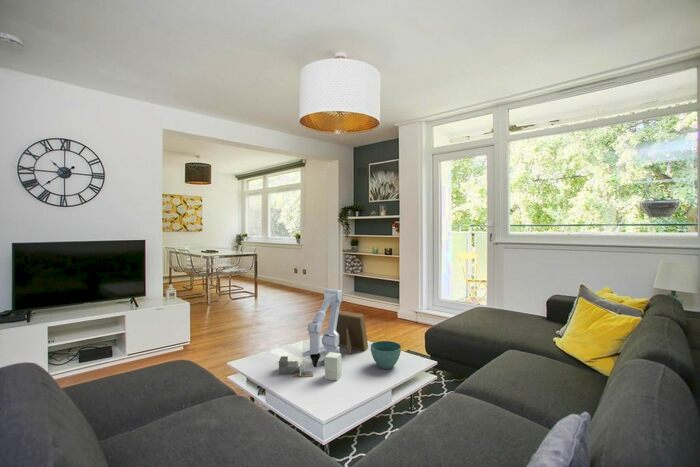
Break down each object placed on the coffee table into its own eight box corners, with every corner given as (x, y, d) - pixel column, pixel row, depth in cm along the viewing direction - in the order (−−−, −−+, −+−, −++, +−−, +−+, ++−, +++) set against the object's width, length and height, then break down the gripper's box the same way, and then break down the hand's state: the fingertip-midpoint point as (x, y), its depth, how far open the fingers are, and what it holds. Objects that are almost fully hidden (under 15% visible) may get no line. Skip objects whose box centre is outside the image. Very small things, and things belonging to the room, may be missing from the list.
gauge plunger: (303, 367, 206) (303, 361, 206) (301, 376, 194) (301, 369, 194) (285, 367, 206) (285, 361, 205) (282, 376, 194) (282, 370, 194)
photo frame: (341, 342, 248) (341, 308, 247) (368, 349, 237) (368, 312, 236) (329, 349, 236) (328, 313, 235) (356, 356, 224) (356, 317, 223)
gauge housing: (297, 367, 206) (297, 356, 206) (295, 373, 198) (295, 361, 198) (281, 368, 206) (281, 356, 206) (278, 374, 198) (278, 361, 198)
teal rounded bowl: (365, 369, 205) (365, 348, 205) (376, 358, 221) (376, 338, 221) (395, 375, 197) (395, 353, 197) (404, 363, 214) (404, 343, 213)
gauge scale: (313, 373, 198) (313, 373, 198) (312, 376, 195) (312, 376, 195) (293, 374, 198) (293, 373, 198) (292, 377, 194) (292, 376, 194)
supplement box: (341, 375, 196) (341, 353, 196) (337, 381, 189) (337, 358, 189) (329, 373, 199) (329, 351, 198) (324, 379, 192) (324, 356, 191)
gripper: (323, 339, 209) (323, 361, 210) (300, 343, 202) (300, 366, 202) (328, 342, 203) (328, 365, 204) (305, 347, 196) (305, 371, 196)
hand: (314, 366), depth 203 cm, fingers closed
